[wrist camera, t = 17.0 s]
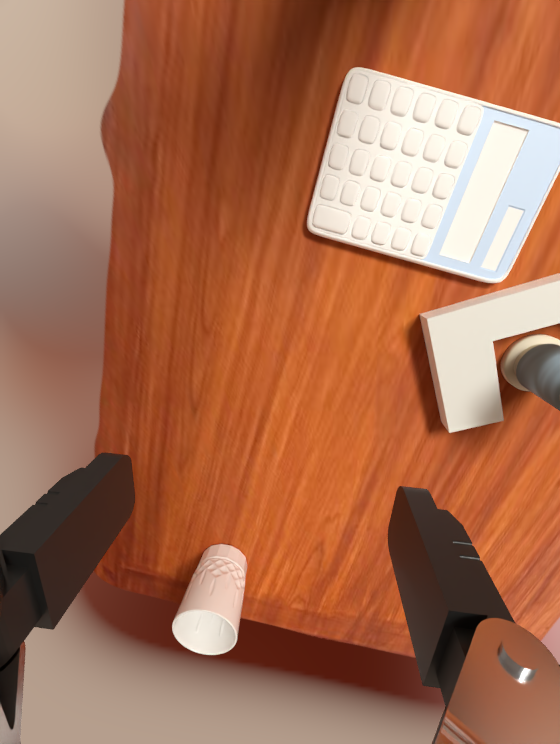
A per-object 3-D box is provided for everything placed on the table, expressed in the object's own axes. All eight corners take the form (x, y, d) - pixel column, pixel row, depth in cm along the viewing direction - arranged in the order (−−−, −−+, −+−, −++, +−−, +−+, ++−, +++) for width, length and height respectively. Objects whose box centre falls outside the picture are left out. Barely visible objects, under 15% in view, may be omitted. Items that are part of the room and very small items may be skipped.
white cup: (193, 540, 49) (165, 609, 40) (246, 539, 48) (230, 610, 39) (204, 580, 52) (179, 654, 42) (255, 580, 51) (241, 656, 41)
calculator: (346, 70, 29) (348, 58, 28) (569, 133, 29) (585, 126, 28) (303, 231, 34) (302, 231, 32) (495, 286, 34) (505, 288, 32)
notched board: (419, 314, 35) (427, 318, 33) (640, 249, 31) (667, 249, 29) (441, 421, 39) (449, 432, 37) (640, 375, 35) (663, 384, 33)
